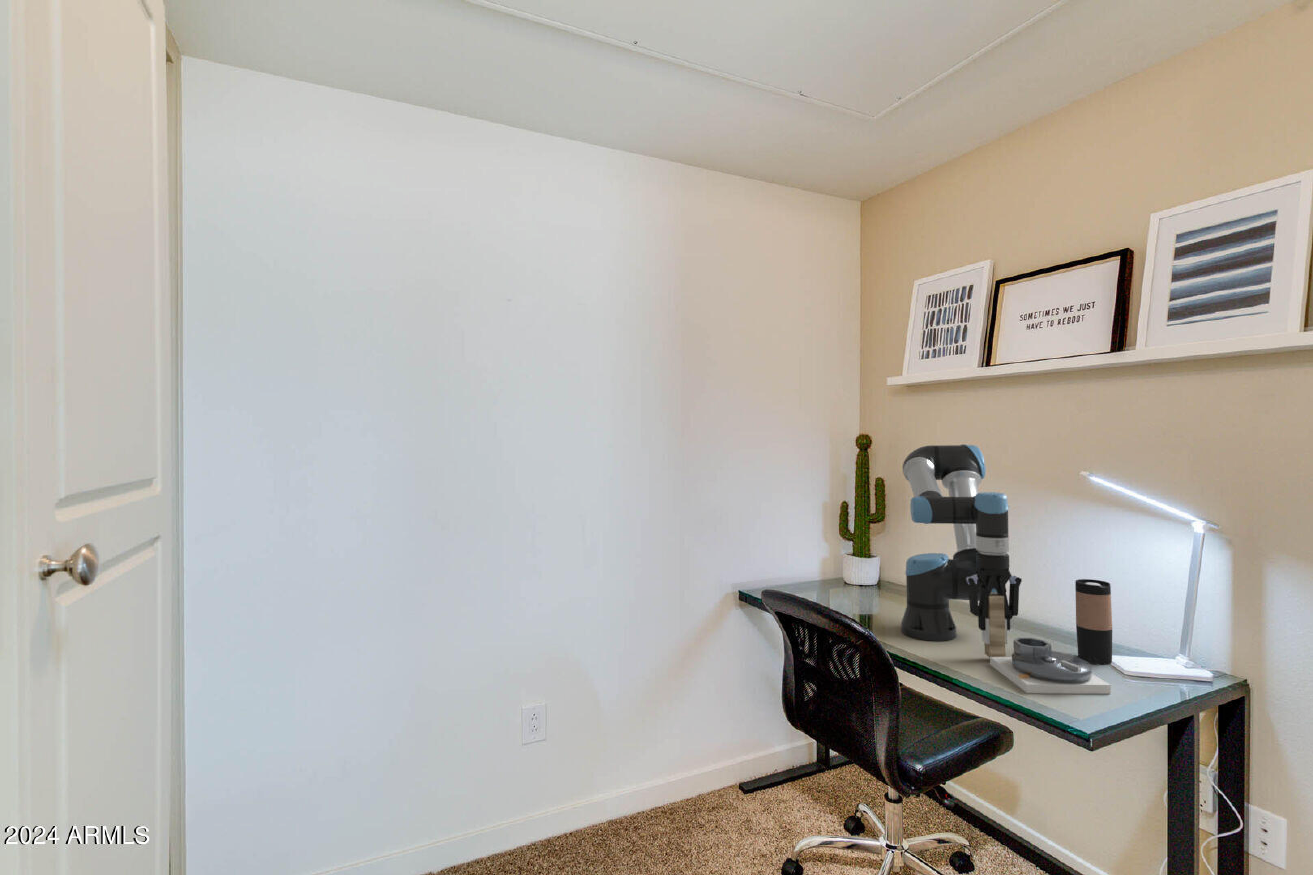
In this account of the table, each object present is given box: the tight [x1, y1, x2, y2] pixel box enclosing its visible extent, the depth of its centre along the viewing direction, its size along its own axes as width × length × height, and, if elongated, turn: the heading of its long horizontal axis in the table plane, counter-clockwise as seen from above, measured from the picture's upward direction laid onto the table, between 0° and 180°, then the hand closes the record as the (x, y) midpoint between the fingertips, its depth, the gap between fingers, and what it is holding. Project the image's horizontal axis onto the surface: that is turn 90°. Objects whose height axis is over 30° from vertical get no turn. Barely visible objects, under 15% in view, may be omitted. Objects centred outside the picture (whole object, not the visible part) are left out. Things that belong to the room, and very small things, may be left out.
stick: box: [983, 593, 1007, 658], centre depth 160 cm, size 4×4×16 cm
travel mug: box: [1074, 578, 1113, 665], centre depth 159 cm, size 8×8×20 cm
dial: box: [1011, 637, 1093, 682], centre depth 147 cm, size 16×16×5 cm
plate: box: [989, 656, 1112, 695], centre depth 148 cm, size 18×18×2 cm
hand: (994, 642), depth 160 cm, fingers closed on stick, 4 cm apart
